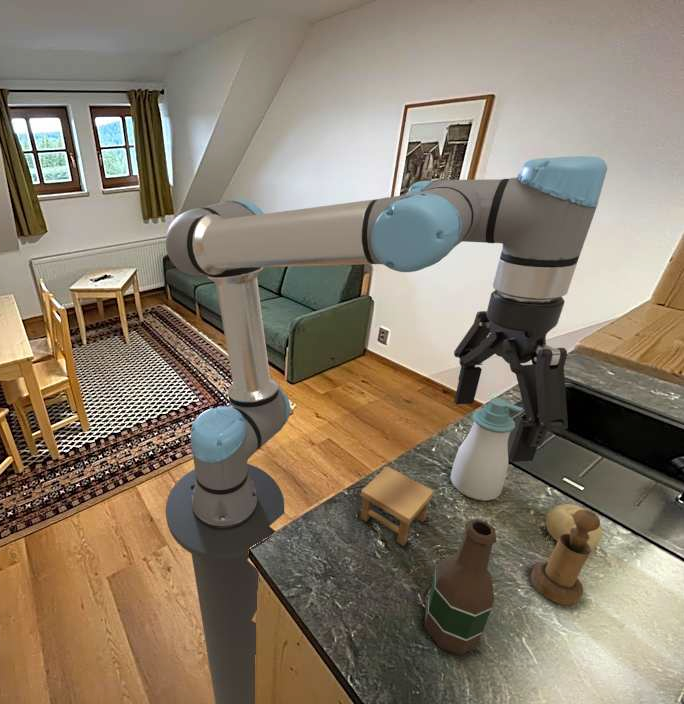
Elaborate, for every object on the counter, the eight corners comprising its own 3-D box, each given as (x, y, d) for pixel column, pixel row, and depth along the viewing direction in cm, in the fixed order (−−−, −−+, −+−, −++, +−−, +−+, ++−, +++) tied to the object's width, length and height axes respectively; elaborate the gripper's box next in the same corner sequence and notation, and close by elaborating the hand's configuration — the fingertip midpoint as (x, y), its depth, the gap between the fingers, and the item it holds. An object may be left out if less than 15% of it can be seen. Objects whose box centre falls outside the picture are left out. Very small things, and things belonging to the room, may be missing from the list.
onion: (609, 560, 72) (603, 539, 69) (553, 554, 77) (544, 534, 74) (600, 519, 77) (593, 498, 74) (547, 515, 82) (538, 496, 79)
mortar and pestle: (572, 577, 70) (610, 504, 62) (584, 612, 65) (627, 537, 57) (526, 564, 73) (556, 492, 65) (534, 597, 68) (568, 523, 60)
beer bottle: (413, 628, 65) (439, 527, 54) (435, 596, 69) (462, 496, 59) (465, 669, 60) (505, 565, 49) (485, 631, 64) (526, 528, 53)
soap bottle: (491, 510, 84) (521, 423, 74) (442, 486, 91) (462, 403, 80) (506, 485, 89) (535, 400, 79) (458, 464, 96) (479, 383, 86)
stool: (358, 518, 85) (361, 490, 81) (382, 492, 90) (386, 465, 87) (404, 548, 78) (409, 519, 74) (427, 518, 83) (434, 490, 80)
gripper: (656, 330, 39) (583, 489, 49) (495, 265, 61) (466, 383, 71) (578, 336, 39) (520, 493, 49) (445, 269, 62) (424, 386, 71)
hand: (488, 428), depth 60 cm, fingers open, 13 cm apart
